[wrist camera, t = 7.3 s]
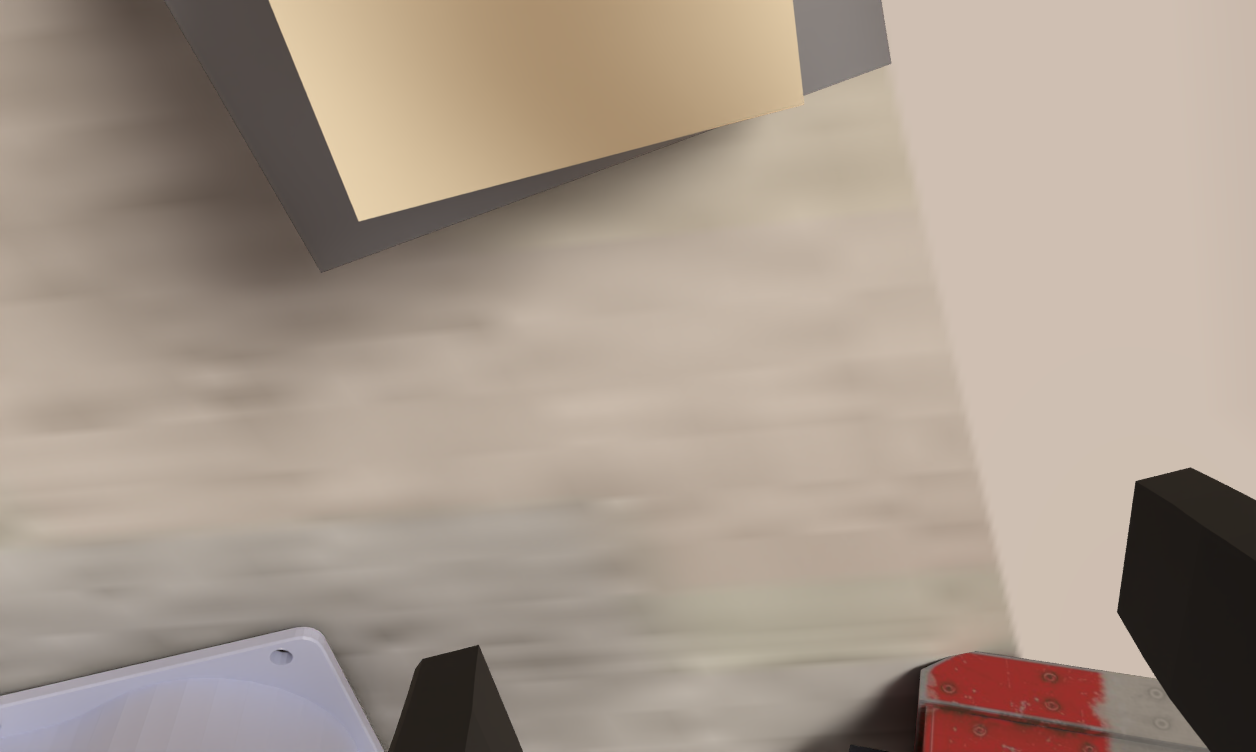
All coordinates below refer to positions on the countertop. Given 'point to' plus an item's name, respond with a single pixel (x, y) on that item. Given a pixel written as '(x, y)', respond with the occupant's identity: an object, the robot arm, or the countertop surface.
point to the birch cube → (525, 84)
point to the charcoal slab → (325, 219)
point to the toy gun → (1042, 709)
